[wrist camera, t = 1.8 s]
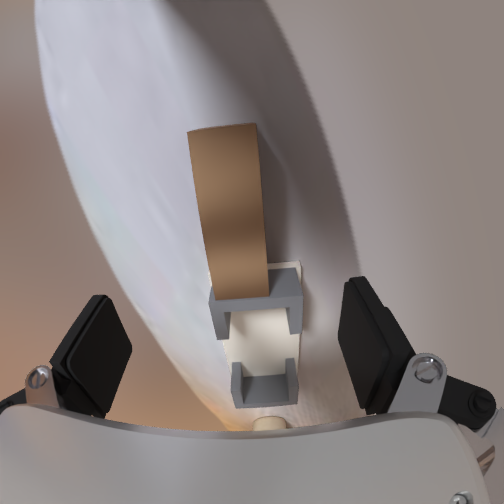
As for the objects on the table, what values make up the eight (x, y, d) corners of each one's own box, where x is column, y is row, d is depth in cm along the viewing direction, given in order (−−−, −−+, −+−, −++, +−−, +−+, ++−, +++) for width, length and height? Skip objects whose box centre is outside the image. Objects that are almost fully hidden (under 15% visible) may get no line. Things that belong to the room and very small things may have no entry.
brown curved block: (201, 128, 19) (187, 132, 14) (254, 122, 19) (255, 123, 14) (220, 265, 25) (215, 300, 20) (265, 262, 24) (269, 296, 20)
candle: (292, 419, 39) (298, 471, 30) (271, 431, 41) (274, 479, 32) (266, 413, 37) (269, 469, 28) (246, 424, 39) (246, 476, 30)
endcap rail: (209, 268, 24) (201, 303, 20) (299, 260, 24) (310, 294, 20) (232, 375, 32) (231, 408, 27) (296, 370, 32) (301, 403, 27)
